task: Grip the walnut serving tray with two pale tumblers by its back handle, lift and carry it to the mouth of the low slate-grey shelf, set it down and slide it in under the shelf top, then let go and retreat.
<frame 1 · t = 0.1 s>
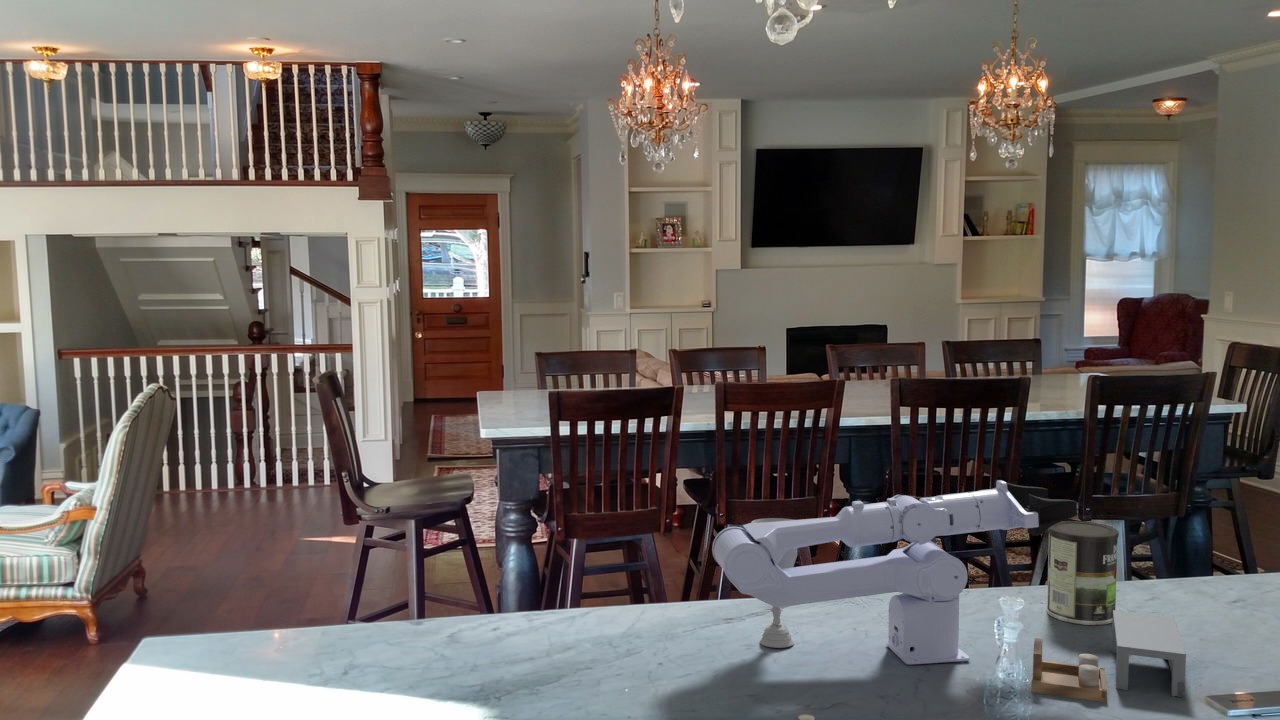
hand: (1060, 501, 149), 22 cm above the kitchen island, tool horizontal, fingers open, 7 cm apart
shelf: (1145, 671, 141), on the kitchen island
chalice: (776, 643, 153), on the kitchen island
tray: (1068, 687, 137), on the kitchen island
coffee can: (1080, 615, 164), on the kitchen island
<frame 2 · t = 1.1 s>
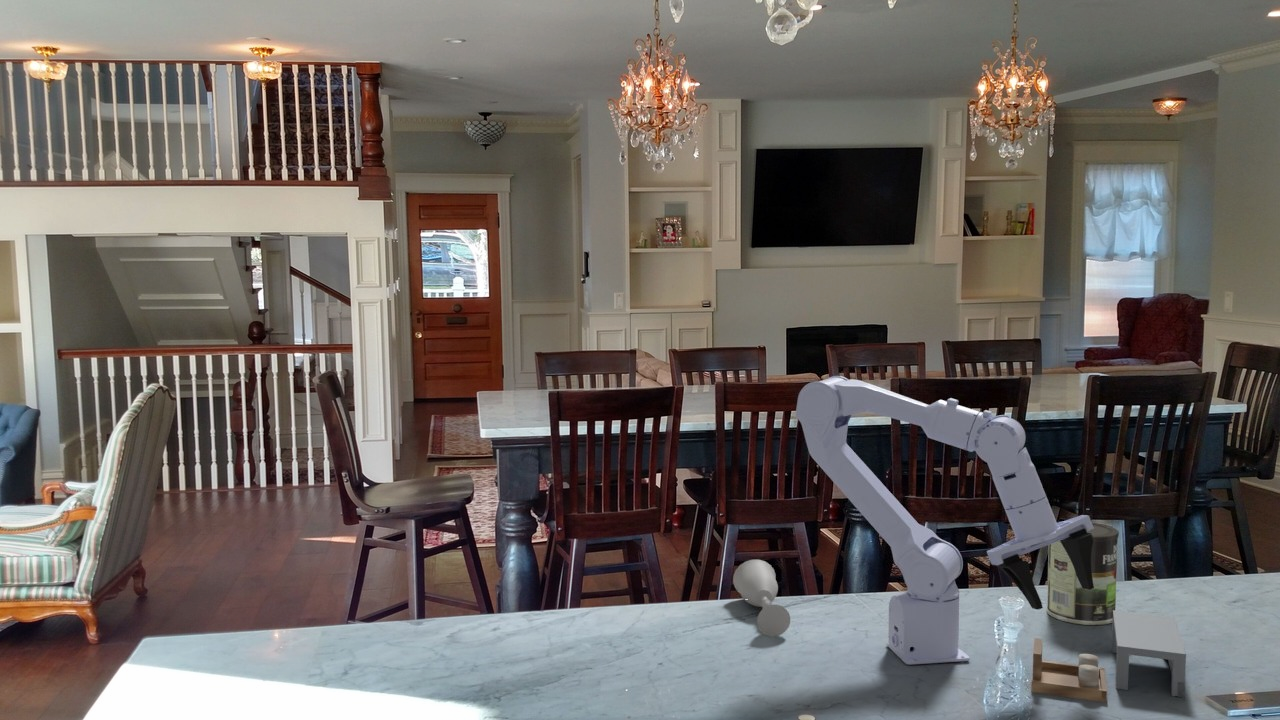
hand: (1063, 598, 139), 11 cm above the kitchen island, tool tilted 20°, fingers open, 7 cm apart
chalice: (774, 621, 155), point 2 cm above the kitchen island
everything else where it was.
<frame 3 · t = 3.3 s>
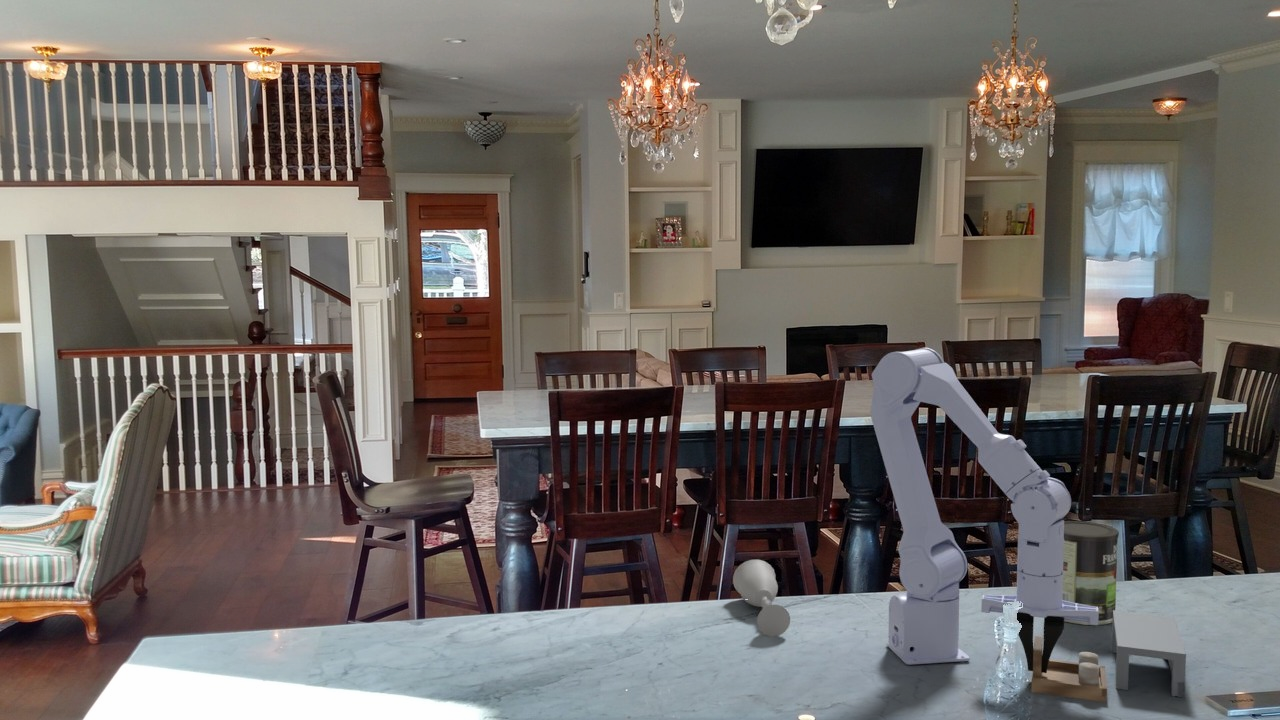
hand: (1037, 669, 138), 2 cm above the kitchen island, tool pointing down, fingers closed on tray
tray: (1068, 685, 137), on the kitchen island, touching gripper
everything else where it was.
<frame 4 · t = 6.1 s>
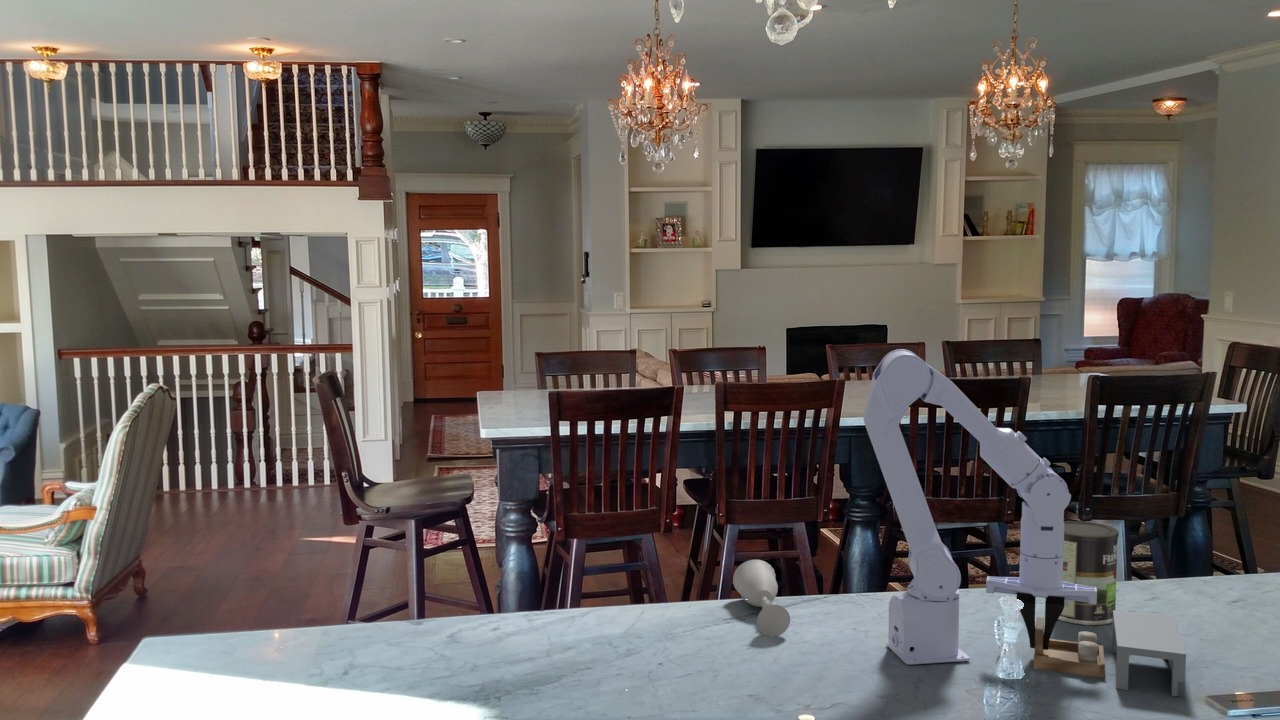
hand: (1039, 646, 146), 2 cm above the kitchen island, tool pointing down, fingers closed on tray
tray: (1068, 663, 144), on the kitchen island, touching gripper
everything else where it was.
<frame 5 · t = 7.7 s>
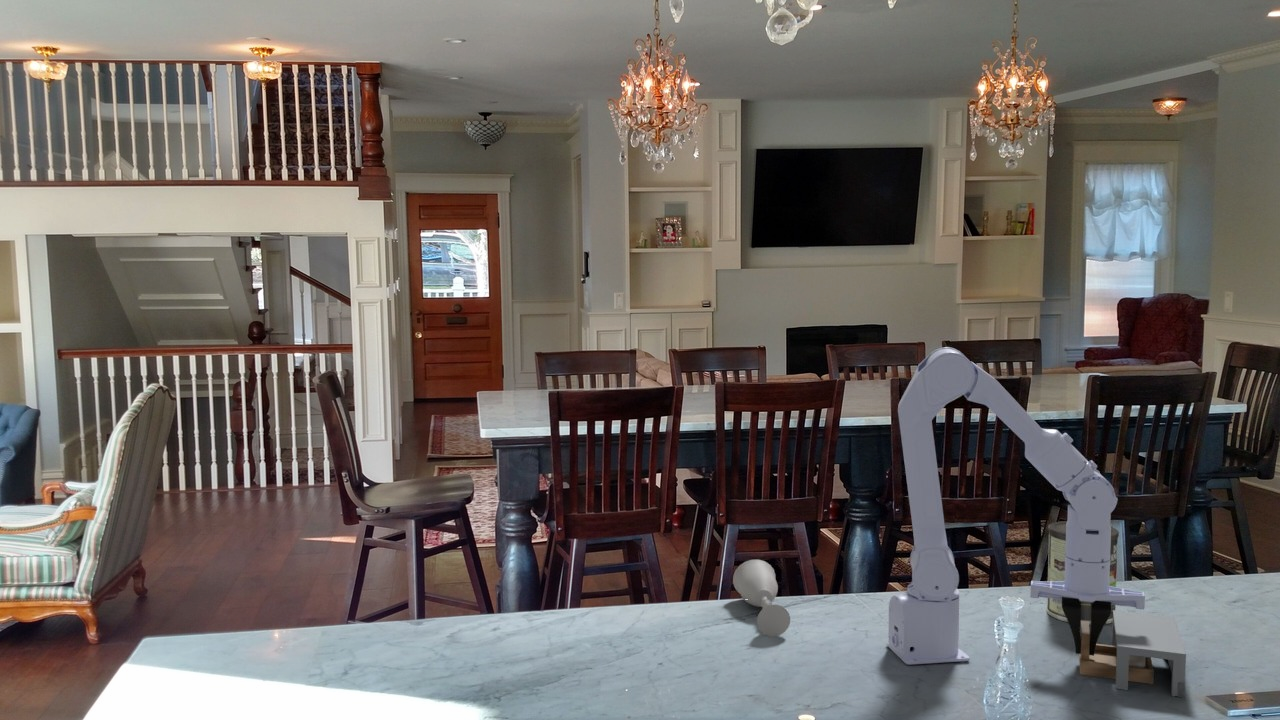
hand: (1084, 652, 144), 2 cm above the kitchen island, tool pointing down, fingers closed on tray
tray: (1114, 668, 142), on the kitchen island, touching gripper
everything else where it was.
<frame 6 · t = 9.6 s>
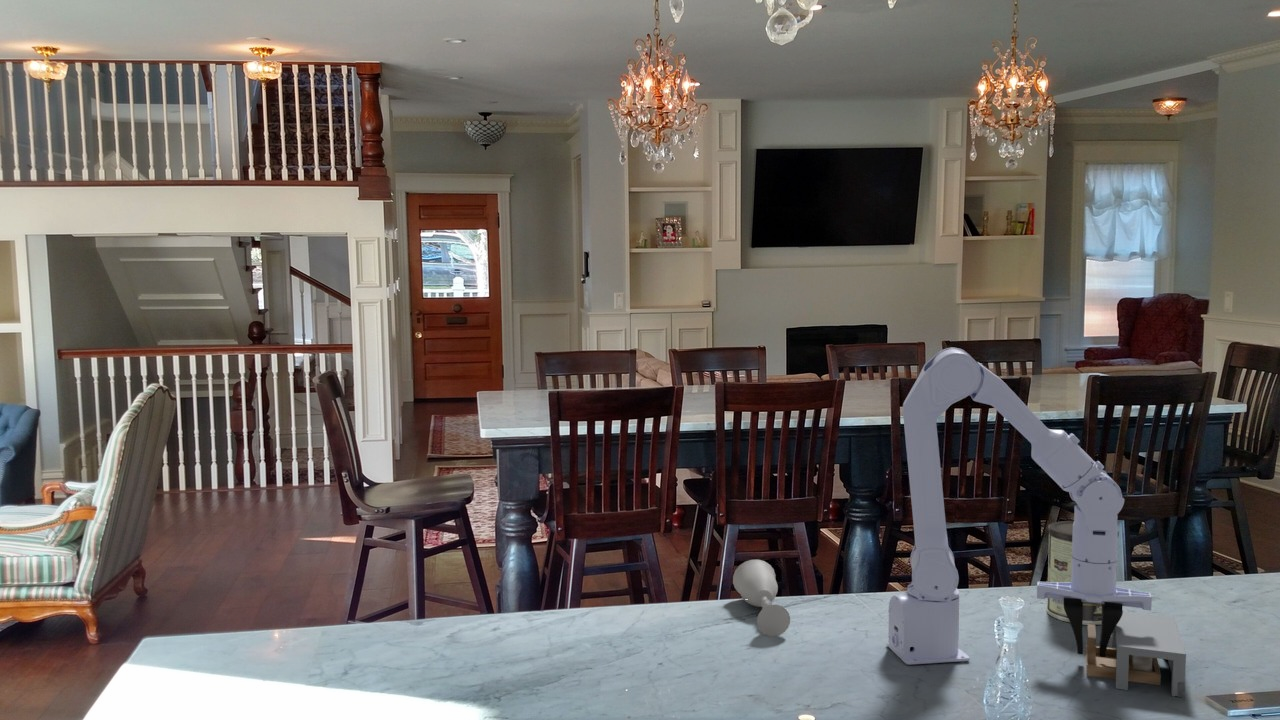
hand: (1091, 653, 143), 2 cm above the kitchen island, tool pointing down, fingers closed
tray: (1121, 671, 142), on the kitchen island
everything else where it was.
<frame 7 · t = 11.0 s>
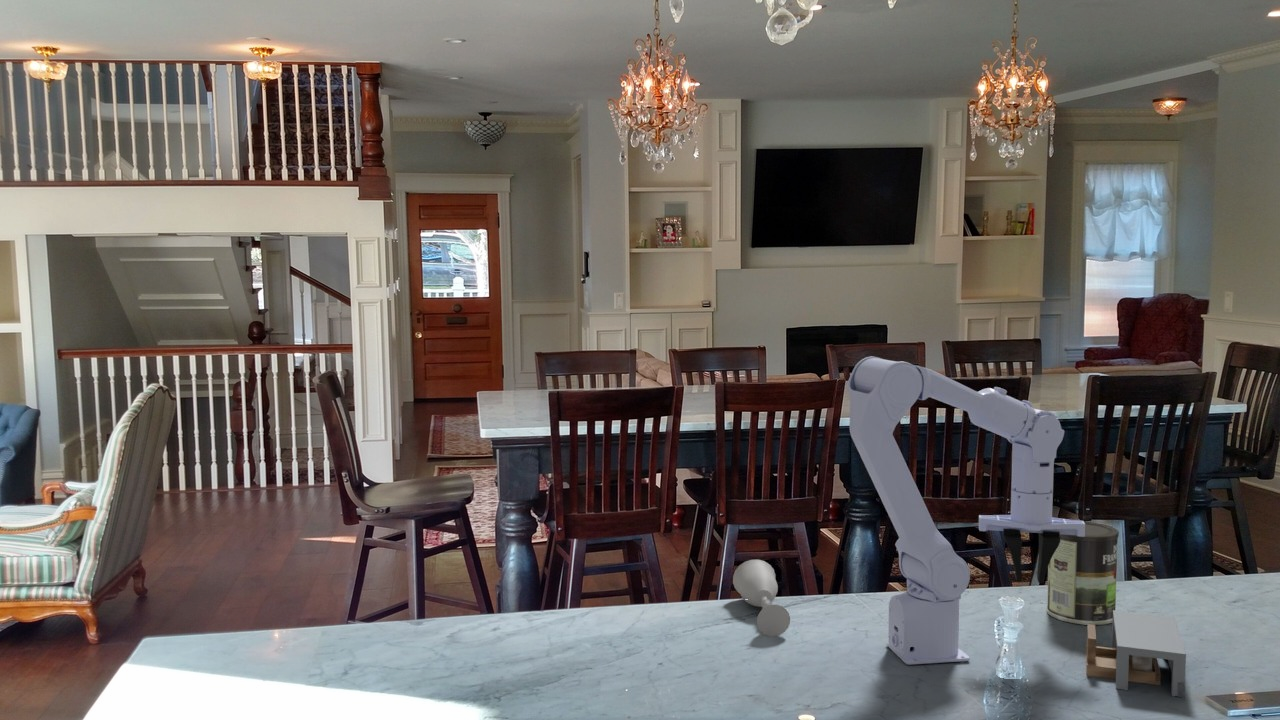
hand: (1029, 580, 151), 9 cm above the kitchen island, tool pointing down, fingers closed
nothing on the kitchen island moved.
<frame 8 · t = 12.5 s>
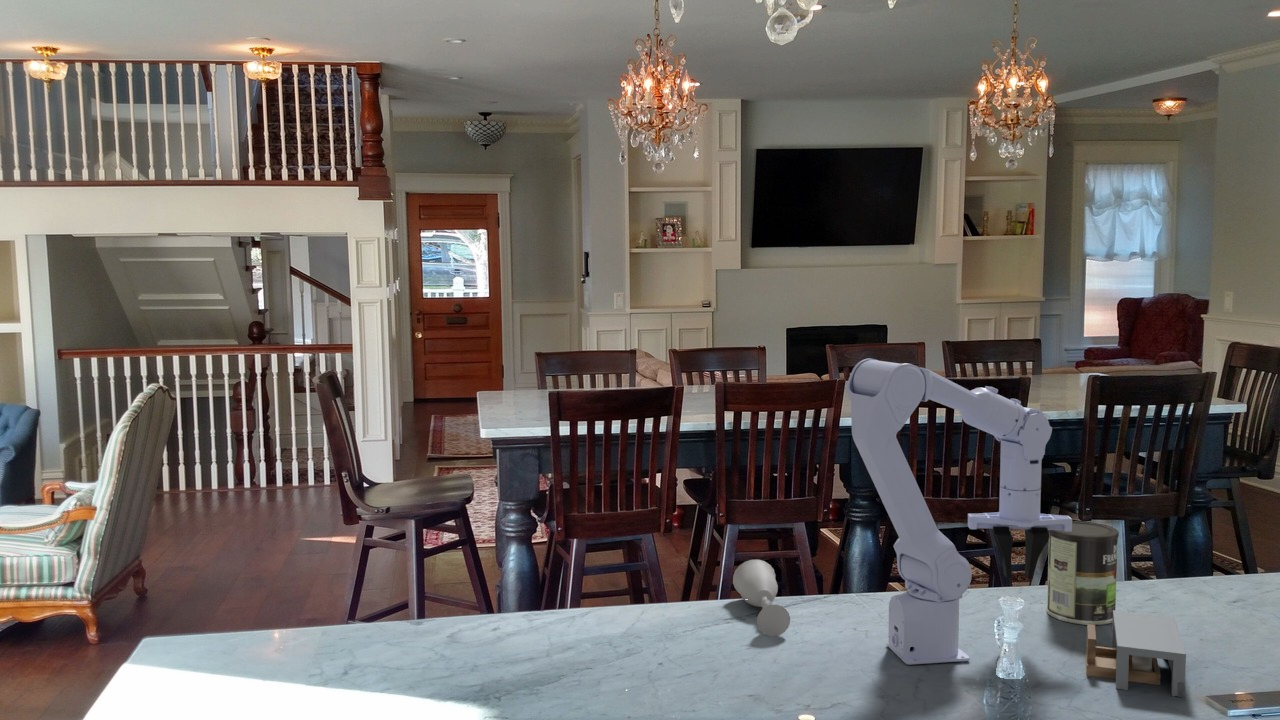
hand: (1018, 576, 153), 9 cm above the kitchen island, tool pointing down, fingers closed
nothing on the kitchen island moved.
at the end: tray 3.1 cm from the shelf (horizontally); tray tilted 0°; the gripper is holding nothing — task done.
